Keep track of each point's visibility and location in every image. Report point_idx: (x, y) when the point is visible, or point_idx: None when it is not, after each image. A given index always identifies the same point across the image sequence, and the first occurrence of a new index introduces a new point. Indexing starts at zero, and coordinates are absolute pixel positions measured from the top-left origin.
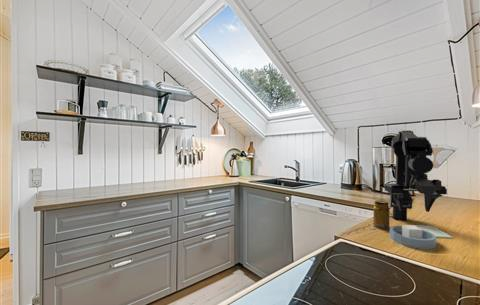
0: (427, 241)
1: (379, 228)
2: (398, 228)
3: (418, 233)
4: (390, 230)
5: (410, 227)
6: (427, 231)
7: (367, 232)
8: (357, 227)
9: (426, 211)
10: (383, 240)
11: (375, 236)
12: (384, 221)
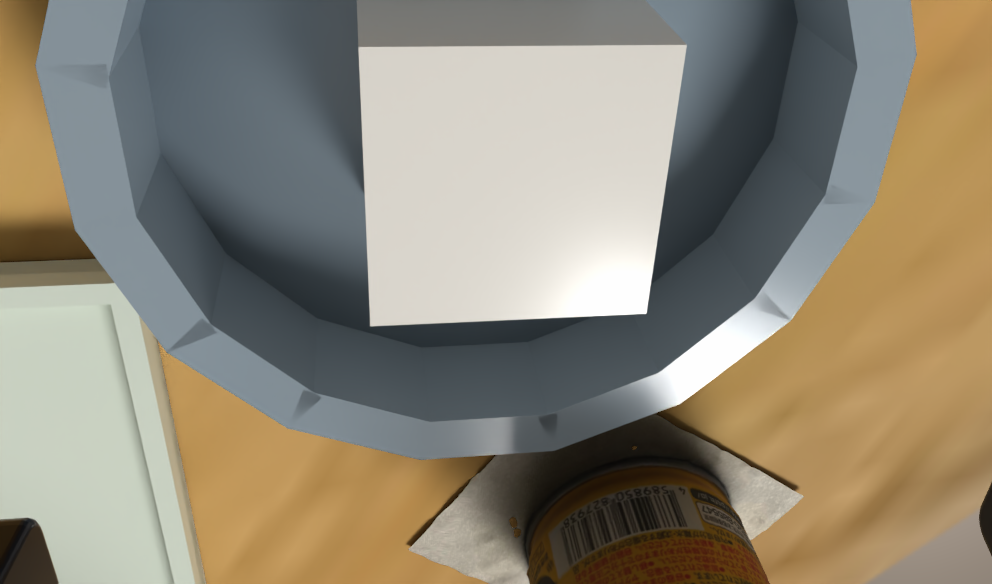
0: None
1: (705, 485)
2: (564, 385)
3: (446, 13)
4: (871, 198)
5: (556, 187)
6: (103, 252)
7: (957, 348)
8: (961, 497)
9: (51, 565)
10: (949, 58)
11: (953, 212)
12: (690, 572)
